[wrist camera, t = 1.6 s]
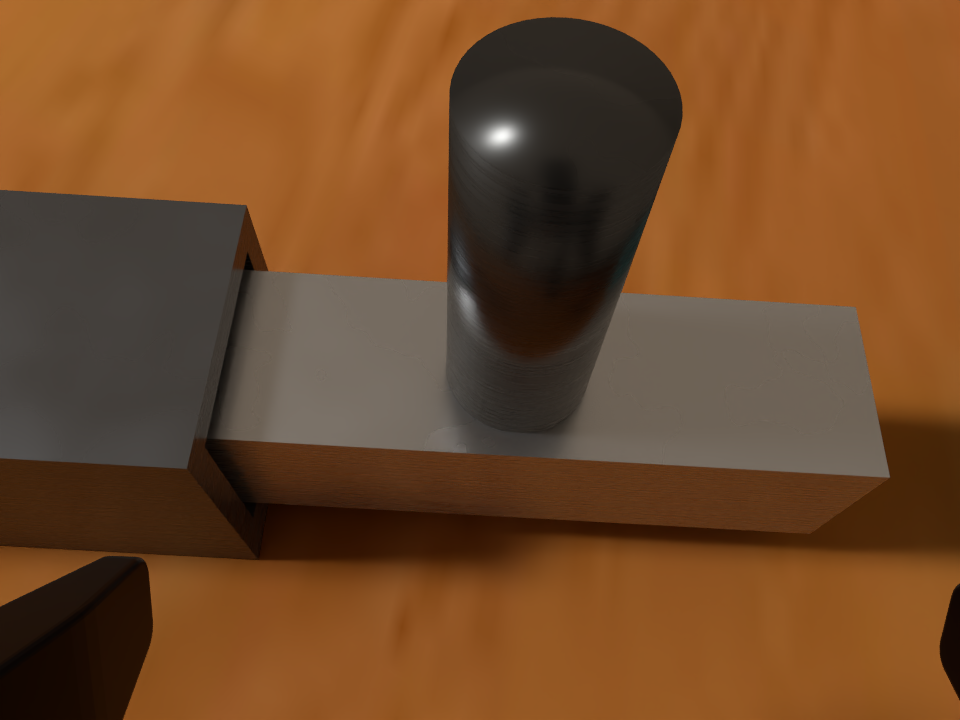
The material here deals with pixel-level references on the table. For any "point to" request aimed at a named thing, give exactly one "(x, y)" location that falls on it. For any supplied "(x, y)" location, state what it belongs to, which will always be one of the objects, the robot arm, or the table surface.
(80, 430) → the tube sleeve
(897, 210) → the table surface
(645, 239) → the table surface
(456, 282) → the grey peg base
